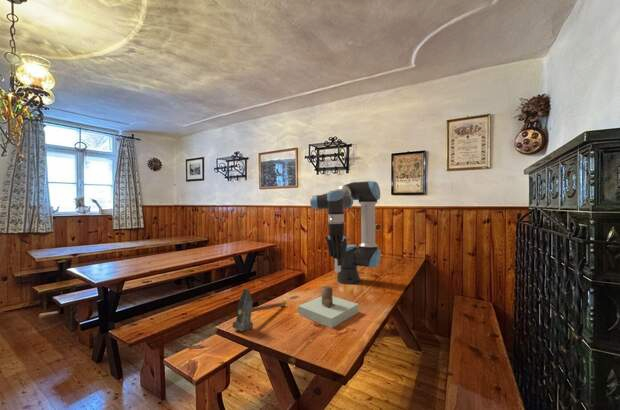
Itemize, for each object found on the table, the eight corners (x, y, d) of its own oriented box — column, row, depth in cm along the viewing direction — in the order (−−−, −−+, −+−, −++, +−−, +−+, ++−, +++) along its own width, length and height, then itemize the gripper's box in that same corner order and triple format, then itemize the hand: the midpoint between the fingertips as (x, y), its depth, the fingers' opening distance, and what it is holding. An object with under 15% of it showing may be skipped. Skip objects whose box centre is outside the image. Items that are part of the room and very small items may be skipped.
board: (326, 301, 135) (325, 294, 135) (358, 312, 121) (358, 303, 121) (298, 314, 121) (298, 305, 121) (331, 328, 107) (331, 318, 107)
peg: (326, 309, 125) (325, 285, 125) (335, 312, 122) (334, 287, 121) (319, 313, 121) (318, 288, 121) (328, 316, 118) (327, 290, 117)
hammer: (290, 286, 131) (247, 290, 107) (286, 319, 129) (242, 331, 104) (281, 284, 135) (237, 288, 110) (277, 316, 132) (232, 328, 107)
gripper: (320, 223, 125) (322, 271, 126) (342, 224, 116) (344, 276, 117) (330, 221, 130) (332, 267, 131) (352, 222, 121) (353, 272, 122)
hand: (337, 271), depth 124 cm, fingers closed
